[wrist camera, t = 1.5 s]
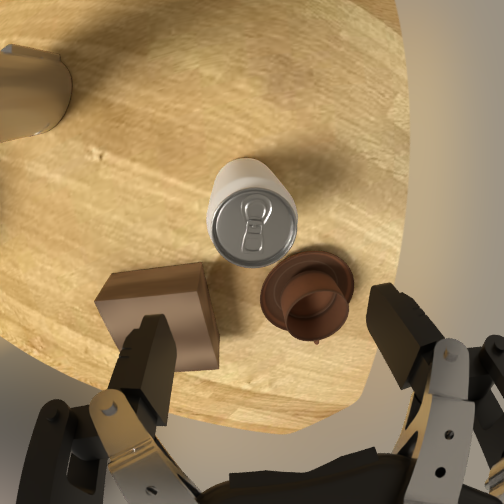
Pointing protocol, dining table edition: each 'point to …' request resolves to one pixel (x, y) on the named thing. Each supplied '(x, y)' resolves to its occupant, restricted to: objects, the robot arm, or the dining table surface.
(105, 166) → the dining table surface
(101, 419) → the robot arm
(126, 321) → the walnut block
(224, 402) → the dining table surface
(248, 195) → the can
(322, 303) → the cup and saucer
